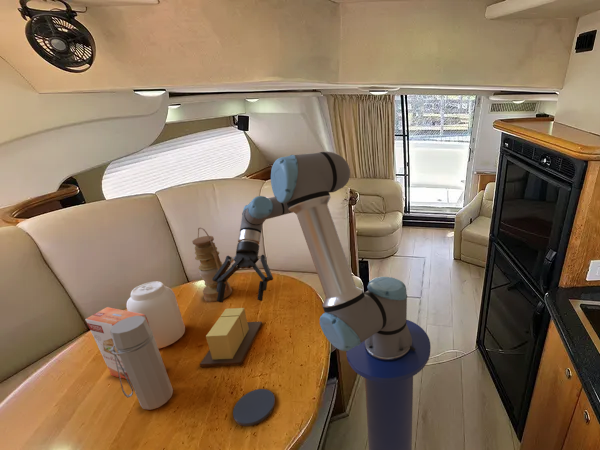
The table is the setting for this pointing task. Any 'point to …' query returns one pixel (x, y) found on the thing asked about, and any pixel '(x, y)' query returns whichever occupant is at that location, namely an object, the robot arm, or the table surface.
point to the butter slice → (242, 317)
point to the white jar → (158, 311)
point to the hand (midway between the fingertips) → (239, 301)
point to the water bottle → (141, 362)
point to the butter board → (240, 352)
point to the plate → (254, 407)
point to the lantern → (209, 266)
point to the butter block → (225, 337)
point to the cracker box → (109, 335)
